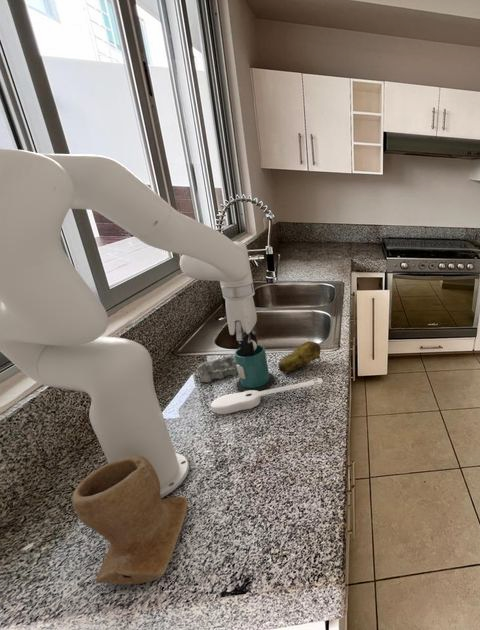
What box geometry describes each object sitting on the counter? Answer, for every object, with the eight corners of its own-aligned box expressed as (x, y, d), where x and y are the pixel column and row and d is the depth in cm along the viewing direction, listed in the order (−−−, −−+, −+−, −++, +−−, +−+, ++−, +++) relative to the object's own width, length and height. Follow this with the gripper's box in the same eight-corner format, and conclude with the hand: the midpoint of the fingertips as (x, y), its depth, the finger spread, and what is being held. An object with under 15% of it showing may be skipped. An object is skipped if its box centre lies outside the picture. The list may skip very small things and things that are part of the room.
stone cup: (123, 513, 62) (94, 450, 56) (197, 498, 65) (177, 437, 59) (70, 608, 49) (26, 537, 43) (167, 583, 52) (138, 515, 46)
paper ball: (256, 354, 96) (253, 342, 94) (242, 355, 95) (239, 343, 94) (259, 348, 99) (257, 337, 97) (245, 349, 98) (243, 337, 97)
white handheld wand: (321, 383, 102) (321, 374, 100) (325, 393, 97) (324, 385, 96) (214, 405, 91) (211, 396, 90) (211, 418, 86) (209, 409, 85)
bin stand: (270, 391, 97) (270, 389, 97) (232, 394, 95) (232, 392, 95) (277, 372, 106) (276, 370, 106) (242, 375, 104) (242, 373, 104)
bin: (240, 390, 96) (233, 359, 92) (242, 376, 102) (235, 346, 98) (269, 385, 99) (264, 354, 95) (269, 371, 105) (264, 342, 101)
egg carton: (200, 385, 99) (197, 373, 98) (198, 373, 105) (195, 361, 103) (241, 374, 105) (238, 362, 103) (237, 363, 110) (234, 352, 109)
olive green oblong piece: (280, 363, 111) (276, 341, 108) (321, 358, 115) (319, 336, 112) (279, 377, 104) (275, 354, 101) (323, 370, 108) (321, 348, 105)
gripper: (232, 281, 96) (243, 339, 104) (211, 301, 82) (226, 367, 89) (260, 280, 98) (270, 337, 105) (245, 300, 83) (257, 365, 90)
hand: (250, 350), depth 97 cm, fingers closed on paper ball, 3 cm apart
